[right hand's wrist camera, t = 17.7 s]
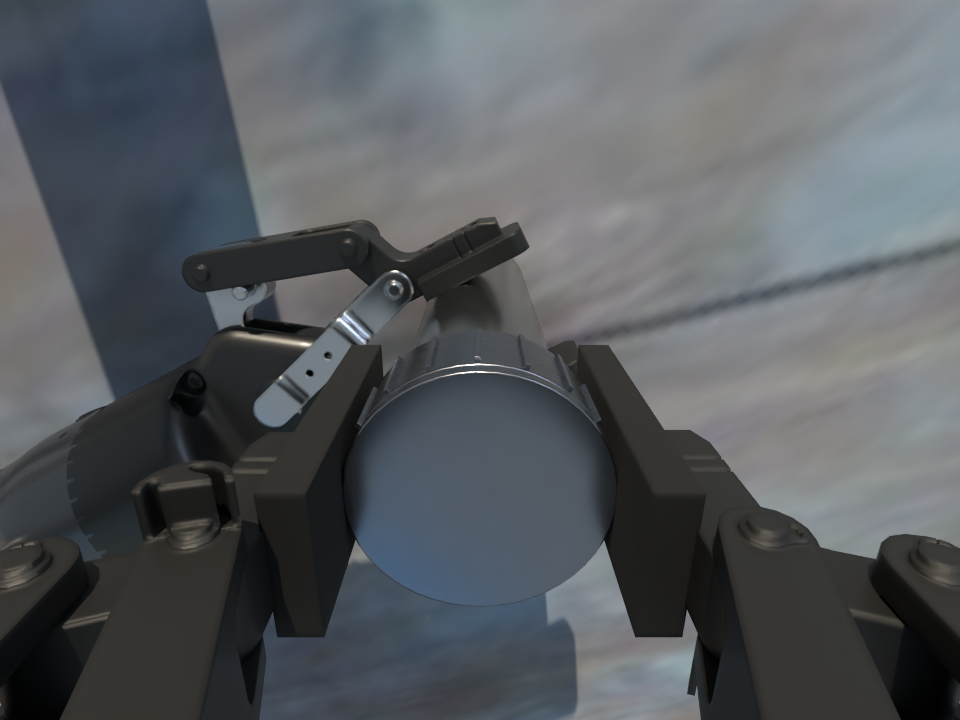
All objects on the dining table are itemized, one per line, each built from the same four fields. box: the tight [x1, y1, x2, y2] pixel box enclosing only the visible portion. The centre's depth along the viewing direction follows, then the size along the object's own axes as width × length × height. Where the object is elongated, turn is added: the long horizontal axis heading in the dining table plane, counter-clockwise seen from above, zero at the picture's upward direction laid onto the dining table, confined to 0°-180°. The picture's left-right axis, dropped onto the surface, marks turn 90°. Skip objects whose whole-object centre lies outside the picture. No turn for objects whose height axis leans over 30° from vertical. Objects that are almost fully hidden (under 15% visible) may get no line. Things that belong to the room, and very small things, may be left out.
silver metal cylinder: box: [411, 259, 549, 351], centre depth 18 cm, size 4×4×16 cm
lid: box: [342, 328, 618, 606], centre depth 11 cm, size 5×5×2 cm
